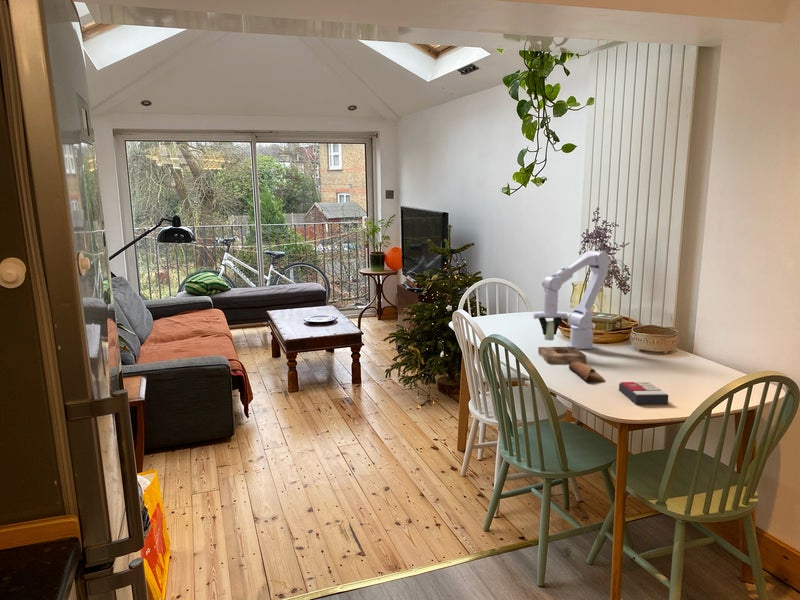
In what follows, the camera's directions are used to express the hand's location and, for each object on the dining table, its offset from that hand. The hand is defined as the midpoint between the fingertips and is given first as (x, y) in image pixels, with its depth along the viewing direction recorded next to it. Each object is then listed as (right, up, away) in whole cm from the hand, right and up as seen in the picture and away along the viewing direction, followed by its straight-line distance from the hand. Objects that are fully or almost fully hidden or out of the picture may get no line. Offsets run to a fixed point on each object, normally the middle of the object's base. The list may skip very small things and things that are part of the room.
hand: (549, 334), depth 266 cm
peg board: (+2, -10, -10) cm, 14 cm away
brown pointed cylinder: (+6, -15, -33) cm, 36 cm away
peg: (0, -2, 0) cm, 2 cm away
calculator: (+18, -19, -56) cm, 62 cm away
